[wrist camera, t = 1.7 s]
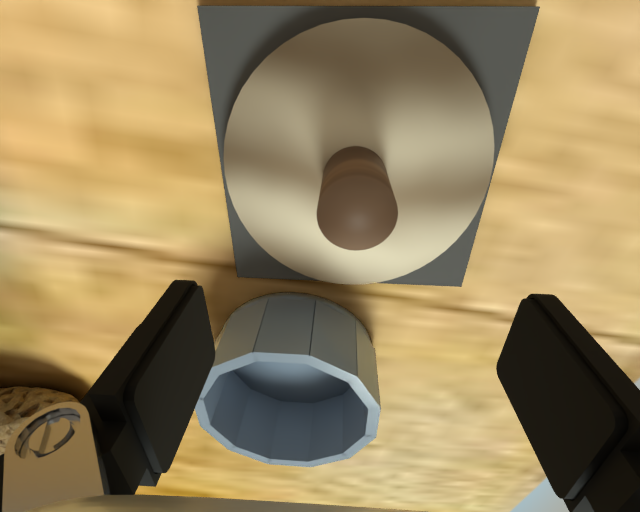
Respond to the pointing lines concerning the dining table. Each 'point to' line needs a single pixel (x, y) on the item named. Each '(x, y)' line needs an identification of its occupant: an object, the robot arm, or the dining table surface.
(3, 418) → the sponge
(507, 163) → the dining table surface
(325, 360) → the cup
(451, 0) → the dining table surface
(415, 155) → the lid
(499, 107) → the mat
